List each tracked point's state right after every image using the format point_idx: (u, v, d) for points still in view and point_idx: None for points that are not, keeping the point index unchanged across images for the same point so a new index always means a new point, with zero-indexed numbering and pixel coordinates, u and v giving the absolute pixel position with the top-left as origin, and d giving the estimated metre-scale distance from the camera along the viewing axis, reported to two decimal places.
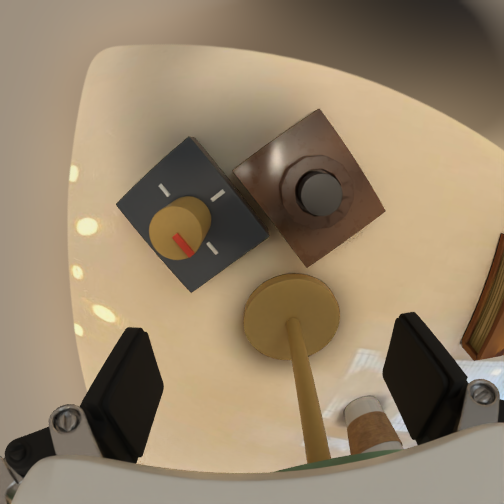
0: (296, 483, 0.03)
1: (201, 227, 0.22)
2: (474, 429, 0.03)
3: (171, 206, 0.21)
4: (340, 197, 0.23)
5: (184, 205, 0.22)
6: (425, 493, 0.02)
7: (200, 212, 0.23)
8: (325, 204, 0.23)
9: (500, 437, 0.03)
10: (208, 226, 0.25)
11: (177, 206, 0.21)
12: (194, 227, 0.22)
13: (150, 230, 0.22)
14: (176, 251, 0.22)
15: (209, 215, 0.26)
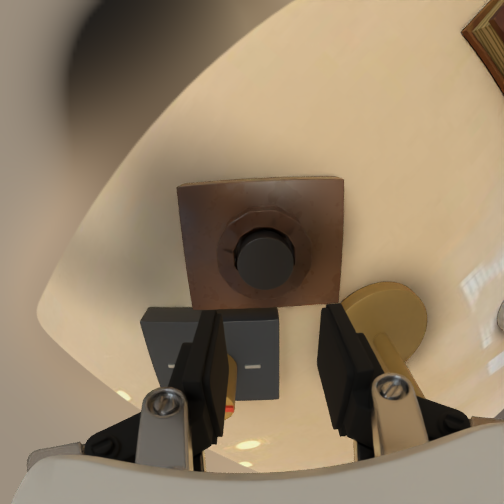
0: (296, 483, 0.03)
1: None
2: (474, 429, 0.03)
3: None
4: (282, 246, 0.18)
5: None
6: (425, 493, 0.02)
7: None
8: (278, 267, 0.18)
9: (500, 437, 0.03)
10: None
11: None
12: None
13: None
14: None
15: None
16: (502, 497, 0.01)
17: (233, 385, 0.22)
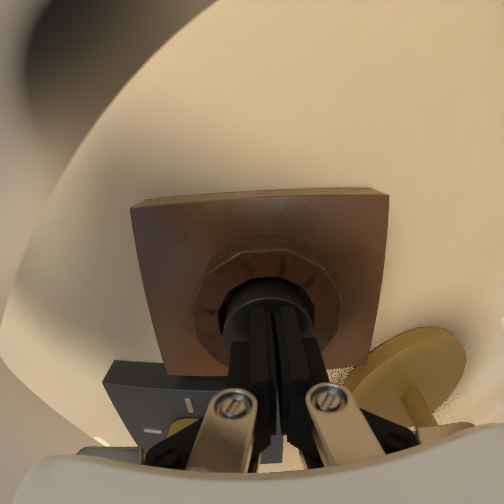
0: (296, 483, 0.03)
1: None
2: (474, 429, 0.03)
3: None
4: (296, 310, 0.11)
5: None
6: (425, 493, 0.02)
7: None
8: None
9: (500, 437, 0.03)
10: None
11: None
12: None
13: None
14: None
15: None
16: (502, 497, 0.01)
17: None
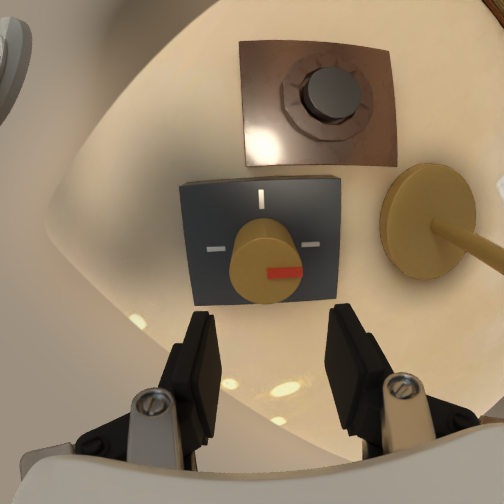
0: (296, 483, 0.03)
1: (281, 239, 0.17)
2: (474, 429, 0.03)
3: (234, 254, 0.17)
4: (349, 76, 0.15)
5: (244, 240, 0.17)
6: (425, 493, 0.02)
7: (264, 229, 0.18)
8: (347, 95, 0.16)
9: (500, 437, 0.03)
10: (285, 231, 0.20)
11: (239, 248, 0.17)
12: (275, 247, 0.17)
13: (242, 295, 0.18)
14: (285, 284, 0.17)
15: (275, 222, 0.21)
16: (502, 497, 0.01)
17: None
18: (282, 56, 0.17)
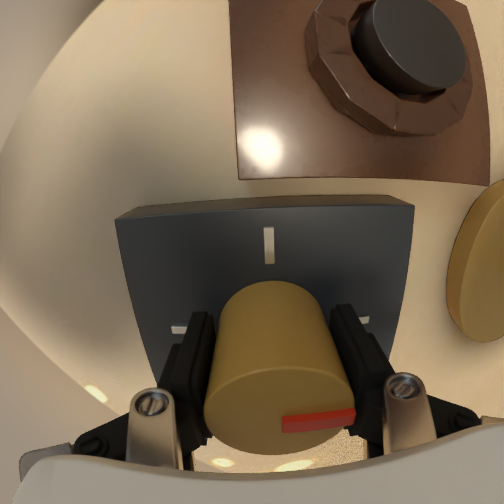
0: (296, 483, 0.03)
1: (317, 367, 0.07)
2: (474, 429, 0.03)
3: (211, 393, 0.07)
4: (443, 15, 0.05)
5: (232, 359, 0.07)
6: (425, 493, 0.02)
7: (278, 325, 0.08)
8: (445, 47, 0.06)
9: (500, 437, 0.03)
10: (317, 315, 0.10)
11: (221, 384, 0.07)
12: (304, 384, 0.07)
13: (233, 446, 0.08)
14: (317, 432, 0.07)
15: (296, 291, 0.10)
16: (502, 497, 0.01)
17: (339, 357, 0.09)
18: None
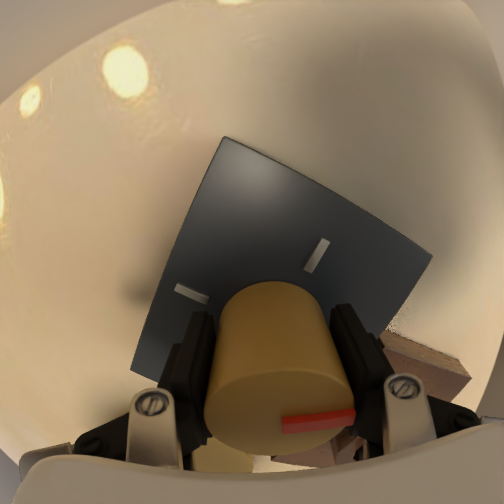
0: (296, 483, 0.03)
1: (316, 368, 0.07)
2: (474, 429, 0.03)
3: (211, 395, 0.07)
4: None
5: (232, 360, 0.07)
6: (425, 493, 0.02)
7: (277, 326, 0.08)
8: None
9: (500, 437, 0.03)
10: (317, 315, 0.10)
11: (220, 385, 0.07)
12: (302, 384, 0.07)
13: (233, 446, 0.08)
14: (317, 433, 0.07)
15: (295, 292, 0.10)
16: (502, 497, 0.01)
17: None
18: None
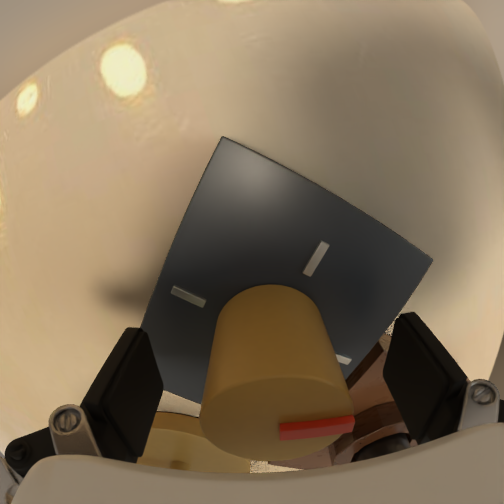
0: (296, 483, 0.03)
1: (316, 375, 0.06)
2: (474, 429, 0.03)
3: (207, 400, 0.07)
4: None
5: (229, 366, 0.07)
6: (425, 493, 0.02)
7: (276, 331, 0.08)
8: None
9: (500, 437, 0.03)
10: (316, 320, 0.09)
11: (217, 391, 0.07)
12: (302, 391, 0.06)
13: (229, 452, 0.07)
14: (315, 439, 0.07)
15: (295, 296, 0.10)
16: (502, 497, 0.01)
17: (338, 363, 0.08)
18: None
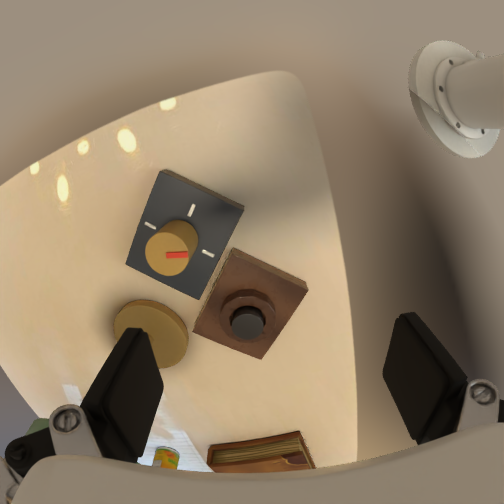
0: (296, 483, 0.03)
1: (173, 233, 0.26)
2: (474, 429, 0.03)
3: (147, 243, 0.26)
4: (252, 338, 0.32)
5: (154, 234, 0.27)
6: (425, 493, 0.02)
7: (169, 227, 0.28)
8: (242, 331, 0.32)
9: (500, 437, 0.03)
10: (187, 228, 0.29)
11: (149, 239, 0.26)
12: (169, 238, 0.26)
13: (154, 269, 0.27)
14: (179, 262, 0.27)
15: (183, 222, 0.30)
16: (502, 497, 0.01)
17: (190, 241, 0.28)
18: (284, 306, 0.34)
